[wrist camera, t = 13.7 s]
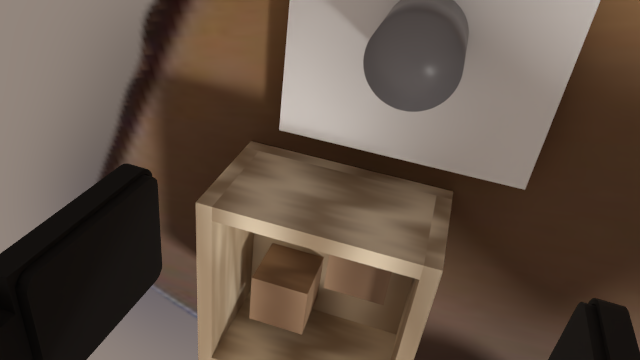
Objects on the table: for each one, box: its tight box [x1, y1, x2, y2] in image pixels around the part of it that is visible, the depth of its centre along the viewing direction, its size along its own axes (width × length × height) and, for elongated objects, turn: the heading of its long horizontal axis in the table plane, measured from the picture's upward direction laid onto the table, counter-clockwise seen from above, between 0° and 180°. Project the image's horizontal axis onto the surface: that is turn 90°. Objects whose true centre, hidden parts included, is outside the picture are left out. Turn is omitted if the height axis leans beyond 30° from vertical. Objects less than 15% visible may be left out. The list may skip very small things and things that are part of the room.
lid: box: [279, 0, 600, 190], centre depth 25 cm, size 15×15×6 cm
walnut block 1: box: [249, 243, 324, 335], centre depth 38 cm, size 4×4×4 cm
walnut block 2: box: [324, 254, 392, 305], centre depth 34 cm, size 4×4×4 cm
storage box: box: [196, 141, 453, 360], centre depth 35 cm, size 14×14×8 cm
